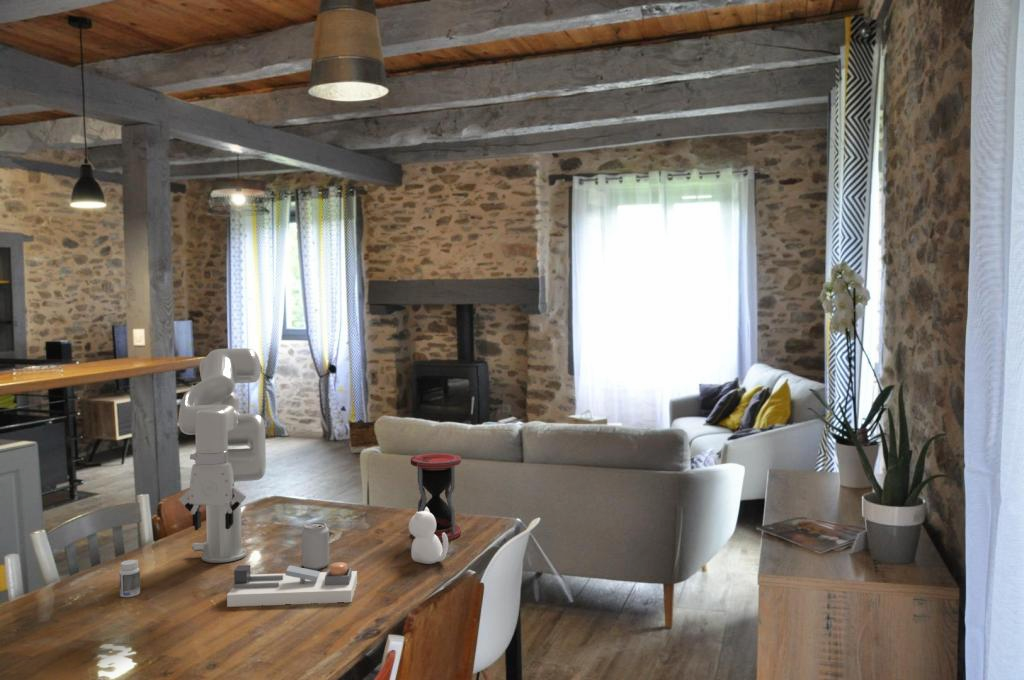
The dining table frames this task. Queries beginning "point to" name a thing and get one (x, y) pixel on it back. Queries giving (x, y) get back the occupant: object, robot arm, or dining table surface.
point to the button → (338, 569)
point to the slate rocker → (302, 573)
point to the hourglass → (438, 489)
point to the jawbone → (334, 535)
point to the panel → (293, 590)
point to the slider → (242, 574)
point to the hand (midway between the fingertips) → (213, 527)
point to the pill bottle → (129, 578)
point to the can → (315, 545)
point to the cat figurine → (426, 539)
